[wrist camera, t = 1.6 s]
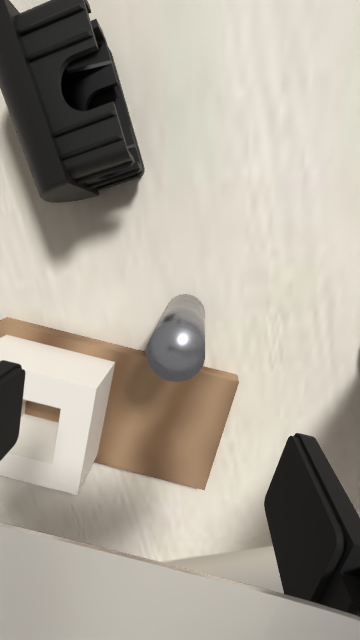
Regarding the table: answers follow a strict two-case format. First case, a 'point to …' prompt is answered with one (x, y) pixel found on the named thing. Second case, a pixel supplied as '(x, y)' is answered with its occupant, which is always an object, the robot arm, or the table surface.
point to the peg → (178, 340)
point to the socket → (75, 416)
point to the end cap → (66, 100)
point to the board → (146, 409)
